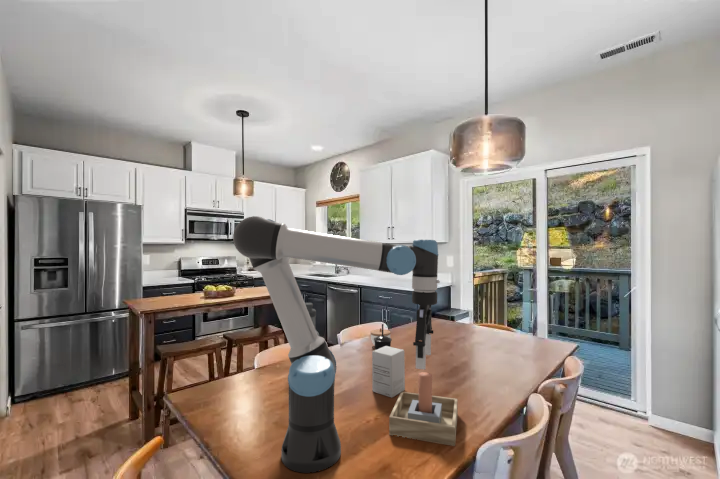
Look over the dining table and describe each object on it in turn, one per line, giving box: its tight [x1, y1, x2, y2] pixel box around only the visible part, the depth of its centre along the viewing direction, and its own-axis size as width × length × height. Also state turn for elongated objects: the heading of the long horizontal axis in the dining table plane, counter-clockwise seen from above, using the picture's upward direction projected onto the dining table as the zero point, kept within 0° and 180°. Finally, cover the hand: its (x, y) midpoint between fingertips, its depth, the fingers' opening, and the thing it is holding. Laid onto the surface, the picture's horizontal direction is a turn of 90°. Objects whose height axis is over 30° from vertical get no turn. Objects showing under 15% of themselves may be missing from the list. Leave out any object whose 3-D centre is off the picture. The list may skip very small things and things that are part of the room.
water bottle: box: [305, 302, 320, 336], centre depth 153 cm, size 10×10×28 cm
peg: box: [417, 371, 433, 413], centre depth 103 cm, size 4×4×14 cm
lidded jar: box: [370, 327, 392, 346], centre depth 184 cm, size 11×11×9 cm
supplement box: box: [371, 346, 406, 399], centre depth 127 cm, size 9×9×15 cm
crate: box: [388, 391, 458, 447], centre depth 103 cm, size 18×18×5 cm
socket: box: [408, 400, 442, 424], centre depth 103 cm, size 9×9×4 cm
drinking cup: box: [374, 323, 392, 350], centre depth 148 cm, size 8×8×20 cm
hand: (423, 361), depth 104 cm, fingers open, 13 cm apart
